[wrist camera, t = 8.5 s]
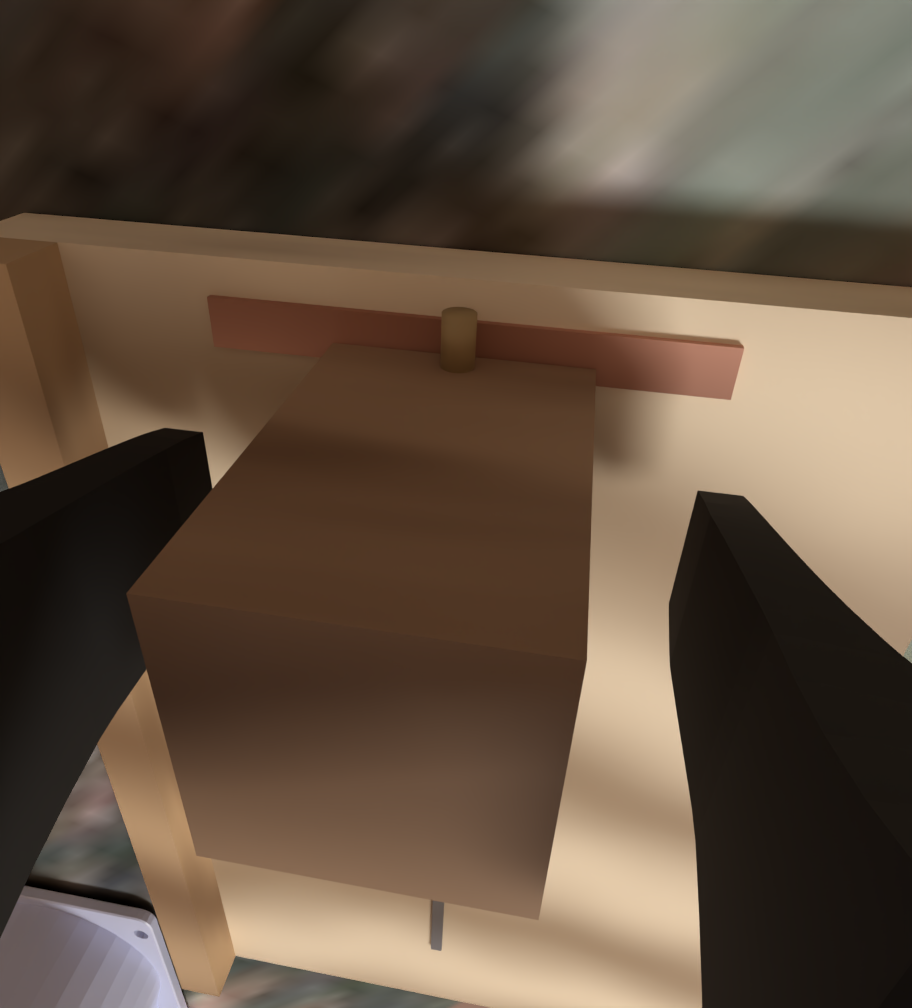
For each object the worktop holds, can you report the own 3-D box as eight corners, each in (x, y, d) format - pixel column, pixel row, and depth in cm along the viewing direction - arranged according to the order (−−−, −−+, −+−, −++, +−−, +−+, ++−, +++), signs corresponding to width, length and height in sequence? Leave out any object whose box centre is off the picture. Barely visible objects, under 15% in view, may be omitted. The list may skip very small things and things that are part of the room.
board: (697, 995, 23) (706, 1099, 21) (208, 899, 25) (169, 986, 23) (1017, 296, 11) (1119, 367, 9) (24, 212, 13) (-97, 254, 11)
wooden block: (564, 580, 13) (538, 919, 8) (344, 551, 14) (196, 855, 9) (604, 316, 11) (600, 583, 6) (329, 290, 11) (106, 517, 6)
